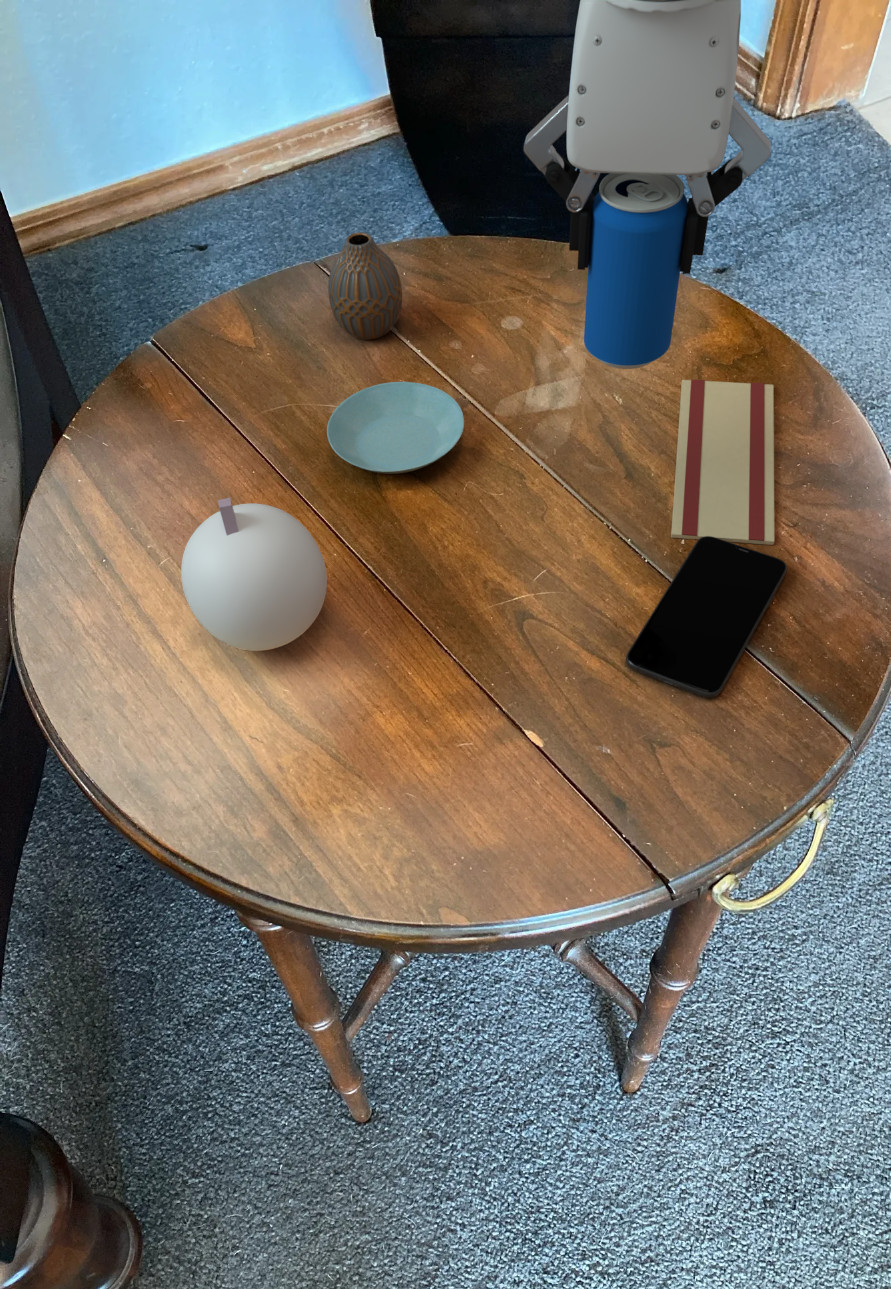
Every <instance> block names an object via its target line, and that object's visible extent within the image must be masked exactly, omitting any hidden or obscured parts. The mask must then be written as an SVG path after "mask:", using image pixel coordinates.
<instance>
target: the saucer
mask: <svg viewBox="0 0 891 1289" xmlns="http://www.w3.org/2000/svg"><path fill="white" fill-rule="evenodd" d="M464 429H465V418H464V412H463V411H462V408H461V406H460V404H459V403H458V402H457V401H456V400H455V398H453V396H451V395H450V394H448V393H447V392H446V391H444V390H442V389H440V388H438V387H435V386H433V385H428V384H425V383H420V382H413V381H391V382H383V383H379V384H374V385H371V386H368V387H365V388H363V389H361V390H359V391H357V392H354V393H353V394H351V395H350V396H348V397H347V398H346V399H344V400H343V401H342V402H340V404H338V405H337V407H336V408H335V409H334V410H333V412H332V413H331V415H330V417H329V419H328V422H327V426H326V437H327V441H328V443H329V445H330V447H331V448H332V450H333V452H335V454H337V456H339V457H340V458H341V459H342V460H344V461H345V462H347V463H349V464H350V465H353V466H355V467H357V468H359V469H362V470H365V471H368V472H372V473H378V474H393V475H394V474H403V473H409V472H413V471H417V470H420V469H423V468H425V467H427V466H429V465H431V464H433V463H435V462H437V461H438V460H440V459H441V458H443V457H444V456H445V455H446V454H448V452H450V451H451V450H452V449H453V448H454V447H455V446H456V445H457V443H458V442H459V440H460V438H461V437H462V435H463V433H464Z"/></svg>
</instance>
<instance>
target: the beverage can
mask: <svg viewBox="0 0 891 1289" xmlns="http://www.w3.org/2000/svg"><path fill="white" fill-rule="evenodd" d="M598 188H599V189H598V190H599V191H598V192H597V194H596V195H595V196H594V201H593V204H592V217H591V233H590V250H589V264H588V268H587V278H586V279H587V280H586V297H585V314H584V329H583V330H584V332H583V343H584V347H585V349H586V350H587V352H588V353H589V354H590V355H591V356H592V357H594V359H597V360H598V361H599V362H600V363H602V364H604V365H606V366H608V367H610V368H614V369H618V370H619V369H620V370H635V369H639V368H643V367H646V366H648V365H650V364H651V363H653V362H655V361H657V360H659V359H660V358H661V357H663V356H664V355H665V354H666V353H667V352H668V350H669V349H670V345H671V343H672V335H673V327H674V320H675V312H676V306H677V305H676V304H677V299H678V290H679V282H680V274H681V272H680V266H681V258H682V251H683V243H684V236H685V228H686V220H687V213H688V198H687V196H686V195H685V183H684V182H683V180H682V179H681V177H680V176H679V175H655V174H621V173H607V175H606V176H604V177H603V179H602V180H601V181H600V183H599V187H598Z"/></svg>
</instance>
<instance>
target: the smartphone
mask: <svg viewBox="0 0 891 1289" xmlns="http://www.w3.org/2000/svg"><path fill="white" fill-rule="evenodd" d="M787 572H788V566H787V563H786V562H785V561H784V560H783V559H781V558H778V557H776V556H772V555H769V554H766V553H764V552H760V551H757V550H755V549H751V548H749V547H746V546H742V545H741V544H740V545H739V544H736V543H735V542H728V541H725V540H722V539H719V538H715V537H712V536H704V537H702V538H700V539H699V540H698V539H697V541H696V542H695V544H694V545H693V547H692V548H691V550H690V551H689V552H688V554H687V556H686V558H685V559H684V560H683V562H682V563H681V565H680V567H679V569H678V570H677V571H676V573H675V575H674V576H673V579H672V580H671V582H670V583H669V585H668V586H667V588H666V590H665V592H664V593H663V595H662V596H661V598H660V599H659V601H658V602H657V604H656V606H655V608H654V609H653V611H652V613H651V614H650V616H649V618H648V619H647V621H646V622H645V623H644V625H643V627H642V629H641V630H640V632H639V633H638V635H637V637H636V638H635V640H634V641H633V643H632V644H631V646H630V648H629V650H628V651H627V653H626V656H625V664H626V666H627V667H628V668H629V669H630V670H632V671H634V672H636V673H639V674H642V675H644V676H646V677H649V678H652V679H654V680H657V681H660V682H662V683H665V684H668V685H670V686H672V687H675V688H678V689H681V690H684V691H685V692H689V693H691V694H693V695H696V696H699V697H703V698H705V699H711V698H715V697H717V696H719V695H720V694H721V692H722V691H723V689H724V688H725V686H726V684H727V683H728V681H729V678H730V677H731V675H732V673H733V672H734V669H735V668H736V666H737V664H738V663H739V660H740V659H741V657H742V655H743V654H744V652H745V649H747V648H746V647H747V646H748V644H749V642H750V640H751V639H752V637H753V635H754V633H755V631H756V630H757V627H758V626H759V624H760V622H761V620H762V619H763V617H764V616H765V613H766V611H767V610H768V609H769V607H770V606H771V603H772V601H773V600H774V598H775V596H776V593H777V591H778V590H779V588H780V586H781V584H782V582H783V580H784V578H785V577H786V575H787Z"/></svg>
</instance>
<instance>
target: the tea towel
mask: <svg viewBox="0 0 891 1289" xmlns="http://www.w3.org/2000/svg"><path fill="white" fill-rule="evenodd" d="M774 388H775V387H774V384H769V383H768V384H767V383H763V382H733V381H729V382H728V381H713V380H706V379H681V386H680V399H679V400H680V401H679V414H678V427H677V428H678V430H677V443H676V447H677V448H676V458H675V470H674V471H675V472H674V473H675V474H674V487H673V502H672V516H671V531H670V538H672V539H673V538H675V539H687V540H697V541H698V540H699V539H700V538H702V537H704V536H712V537H715V538H719V539H722V540H725V541H728V542H731V543H740V544H751V545H752V544H755V545H768V546H773V545H774V544H775V414H774V413H775V412H774V410H775V409H774V408H775V407H774V405H775V404H774V403H775V402H774V400H775V399H774V397H775V396H774V394H775V393H774Z"/></svg>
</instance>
